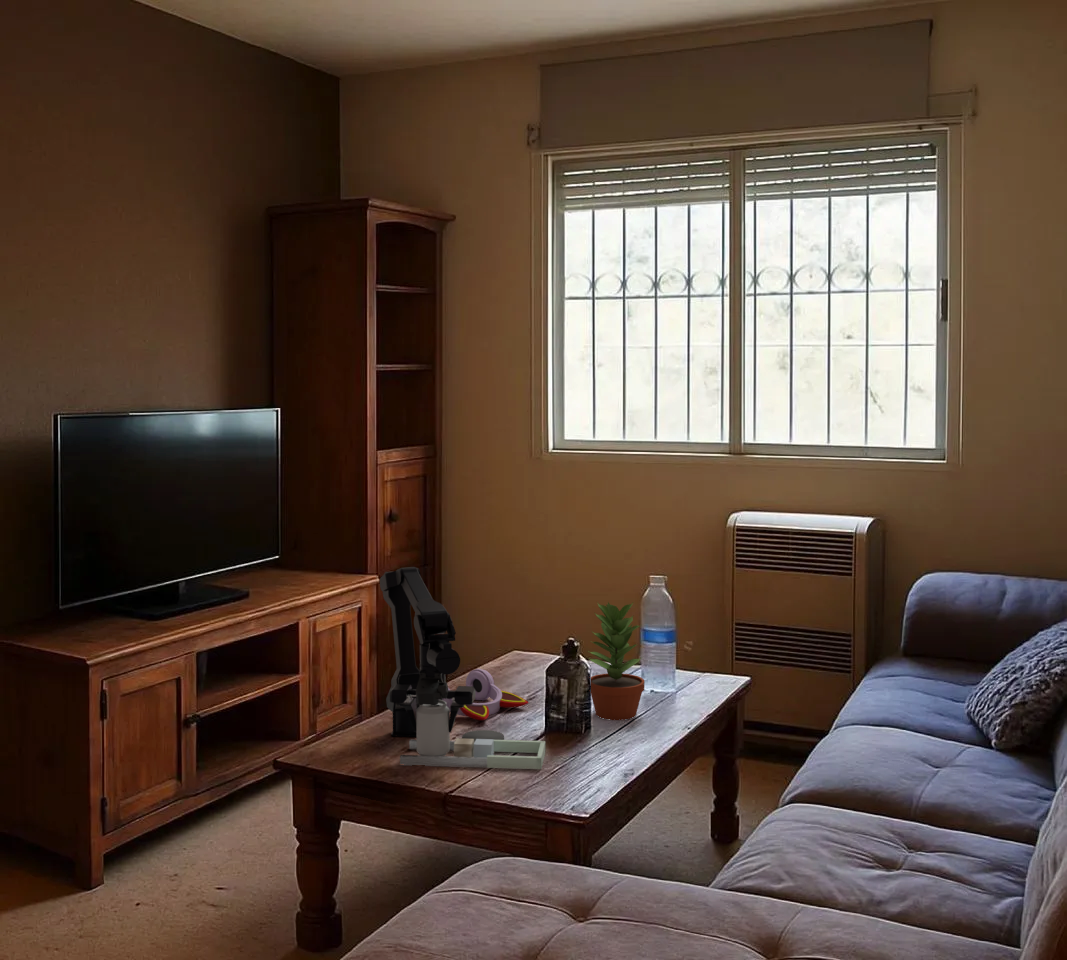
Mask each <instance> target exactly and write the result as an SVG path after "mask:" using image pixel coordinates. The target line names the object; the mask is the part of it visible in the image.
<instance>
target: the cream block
mask: <svg viewBox="0 0 1067 960" xmlns="http://www.w3.org/2000/svg"><path fill="white" fill-rule="evenodd" d="M454 741H455V743H454V751H453V756H456V757H474V739H462V737H461V738H459V737H457V738H455V740H454Z"/></svg>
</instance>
